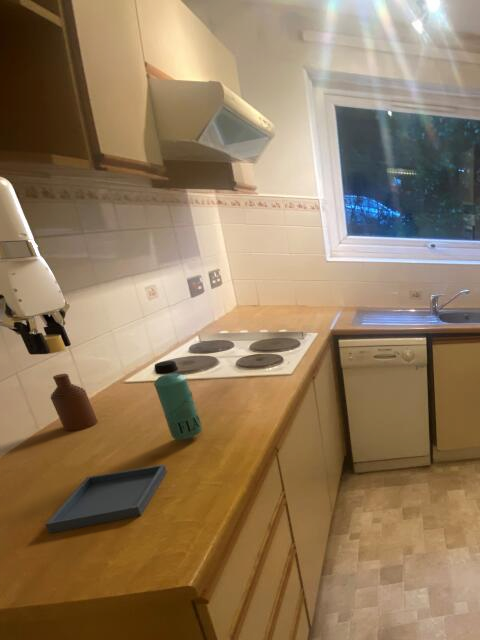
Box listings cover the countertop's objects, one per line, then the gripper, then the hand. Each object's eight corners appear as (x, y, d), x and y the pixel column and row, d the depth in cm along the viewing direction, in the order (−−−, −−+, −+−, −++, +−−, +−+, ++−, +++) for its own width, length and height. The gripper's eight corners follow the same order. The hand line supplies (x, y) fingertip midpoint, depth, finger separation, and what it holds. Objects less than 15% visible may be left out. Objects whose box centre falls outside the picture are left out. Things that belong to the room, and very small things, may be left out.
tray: (49, 533, 76) (44, 524, 75) (90, 485, 89) (86, 477, 88) (141, 515, 81) (137, 506, 80) (167, 472, 94) (164, 464, 93)
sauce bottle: (59, 432, 109) (36, 381, 104) (72, 421, 115) (50, 372, 109) (91, 428, 111) (70, 378, 106) (102, 418, 117) (82, 369, 112)
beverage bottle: (181, 447, 103) (155, 369, 95) (167, 440, 106) (140, 364, 98) (210, 436, 108) (187, 360, 101) (196, 429, 111) (173, 356, 104)
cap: (30, 354, 82) (24, 340, 81) (49, 348, 86) (43, 334, 84) (54, 353, 82) (48, 339, 81) (71, 347, 86) (66, 333, 85)
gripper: (28, 247, 84) (66, 338, 91) (-69, 257, 69) (-14, 365, 76) (70, 247, 85) (104, 337, 92) (-16, 256, 69) (33, 363, 76)
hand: (50, 349), depth 84 cm, fingers closed on cap, 4 cm apart
